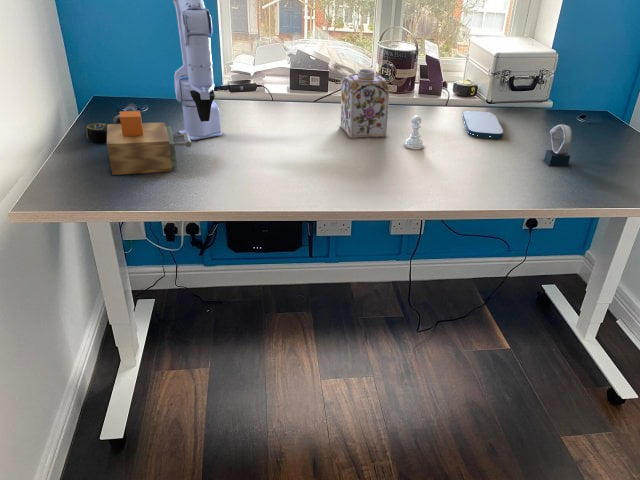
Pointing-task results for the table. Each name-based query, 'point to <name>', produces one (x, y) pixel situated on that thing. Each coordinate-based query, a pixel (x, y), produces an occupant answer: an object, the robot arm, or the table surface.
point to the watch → (559, 153)
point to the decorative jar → (364, 105)
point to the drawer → (176, 144)
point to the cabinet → (139, 150)
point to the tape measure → (96, 132)
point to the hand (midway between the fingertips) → (204, 120)
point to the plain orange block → (131, 123)
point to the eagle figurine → (128, 108)
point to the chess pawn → (414, 135)
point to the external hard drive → (482, 124)
